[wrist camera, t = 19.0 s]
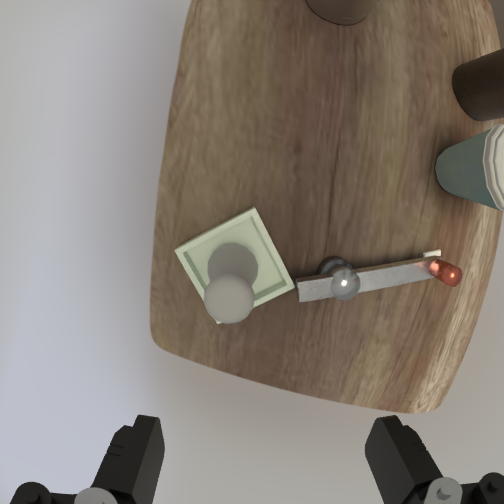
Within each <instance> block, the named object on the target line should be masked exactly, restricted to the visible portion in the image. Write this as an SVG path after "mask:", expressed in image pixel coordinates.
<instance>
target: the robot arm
mask: <svg viewBox="0 0 504 504" xmlns="http://www.w3.org/2000/svg"><path fill="white" fill-rule="evenodd" d="M306 1H307V3H308V5H309V6H310V8H311V9H312V10H313V11H314V12H315V13H316V14H317V15H319V16H320V17H322V18H324V19H326V20H328V21H330V22H333V23H336V24H341V25H352V24H356V23H359V22H360V21H362V20H363V19H364V18H365V16H366V15H368V13H369V12H370V10H371V9H372V8H373V7H374V6H375V4H376V3H377V2H378V1H379V0H306ZM164 451H165V446H164V439H163V434H162V429H161V424H160V419H159V418H158V417H151V416H145V415H138V416H137V418H136V420H135V423H134V425H133V427H131V426H126V425H124V426H123V427H122V428H120V430H118V431H117V432H116V433H115V434H114V436H113V438H112V441H111V443H110V446H109V447H108V450H107V453H106V454H105V456H104V459H103V461H102V463H101V465H100V468H99V470H98V472H97V475H96V477H95V479H94V482H93V484H92V485H91V487H90V488H87V489H84V490H82V491H81V492H79V493H78V494H73V495H72V494H58V493H50V492H49V491H48V489H47V488H46V487H45V486H43V485H42V484H40V483H36V482H27V483H24V484H22V485H21V486H19V487H18V488H17V490H16V492H15V494H14V496H13V498H12V500H11V502H10V504H152V502H153V498H154V494H155V490H156V486H157V482H158V478H159V474H160V470H161V466H162V462H163V458H164ZM365 455H366V458H367V461H368V463H369V466H370V468H371V471H372V473H373V476H374V478H375V481H376V484H377V486H378V489H379V491H380V494H381V496H382V499H383V502H384V504H504V476H503V475H501V474H499V473H494V472H493V473H488V474H486V475H485V476H483V478H482V479H481V480H480V481H479V482H478V483H470V484H459V483H458V482H457V481H455V480H454V479H452V478H447V477H443V475H442V474H441V472H440V471H439V469H438V467H437V466H436V464H435V462H434V460H433V459H432V457H431V455H430V454H429V452H428V451H427V450H426V447H425V445H424V444H423V443H422V440H421V439H420V437H419V435H418V434H417V433H416V431H414V430H413V429H412V428H410V427H409V426H408V425H405V426H403V425H402V423H401V421H400V420H399V418H398V417H397V416H396V415H392V416H386V417H380V418H377V419H376V420H375V422H374V424H373V427H372V429H371V432H370V434H369V437H368V439H367V441H366V444H365Z"/></svg>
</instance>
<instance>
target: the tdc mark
mask: <svg viewBox="0 0 504 504" xmlns="http://www.w3.org/2000/svg"><path fill="white" fill-rule="evenodd" d="M434 255H436V256H440V255H441V250H439V249H438V250H433V251H428V252H423V257H428V256H434Z"/></svg>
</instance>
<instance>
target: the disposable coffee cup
mask: <svg viewBox="0 0 504 504" xmlns="http://www.w3.org/2000/svg"><path fill="white" fill-rule="evenodd" d="M435 170H436V175H437V180H438V181H439V183H440V185H441V186H442V188H443V189H445V191H447V192H449V193H451V194H453V195H456V196H459V197H462V198H465V199H468V200H471V201H474V202H477V203H480V204H483V205H486V206H489V207H492V208H494V209H497V210H500V211H503V212H504V124H495V125H494V127H493V128H492V129H489V130H487V131H485V132H483V133H480V134H478V135H476V136H474V137H471V138H469V139H467V140H465V141H462V142H460V143H458V144H456V145H453V146H451V147H449V148H447V149H445V150H444V151H443V152H442V153H441V154H440V155H439V157H438V158H437V162H436V167H435Z"/></svg>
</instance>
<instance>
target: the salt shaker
mask: <svg viewBox="0 0 504 504" xmlns="http://www.w3.org/2000/svg"><path fill="white" fill-rule="evenodd" d="M207 273H208V276H209V280H210V282H209V284H208V285H207V287H206V289H205V290H204V305H205V307H206V309H207V312H208V314H209V315H211V316H212V317H213V318H214V319H215V320H216V321H219V322H223V323H226V324H230V323H238V322H239V321H241V320H243V319H245V318H247V316H248V315H249V313H250V312H251V310H252V309H253V306H254V298H255V294H254V291H253V289H252V285H253V283H254V282H255V280H256V278H257V274H258V264H257V261H256V258H255V256H254V254H253V253H251V252H250V251H249V250H248V249H247V248H246V247H244V246H241V245H238V244H228V245H223V246H222V247H220V248H219V249H217V250H215V251H214V252H213V254H212V255H211V257H210V259H209V260H208V269H207Z"/></svg>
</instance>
